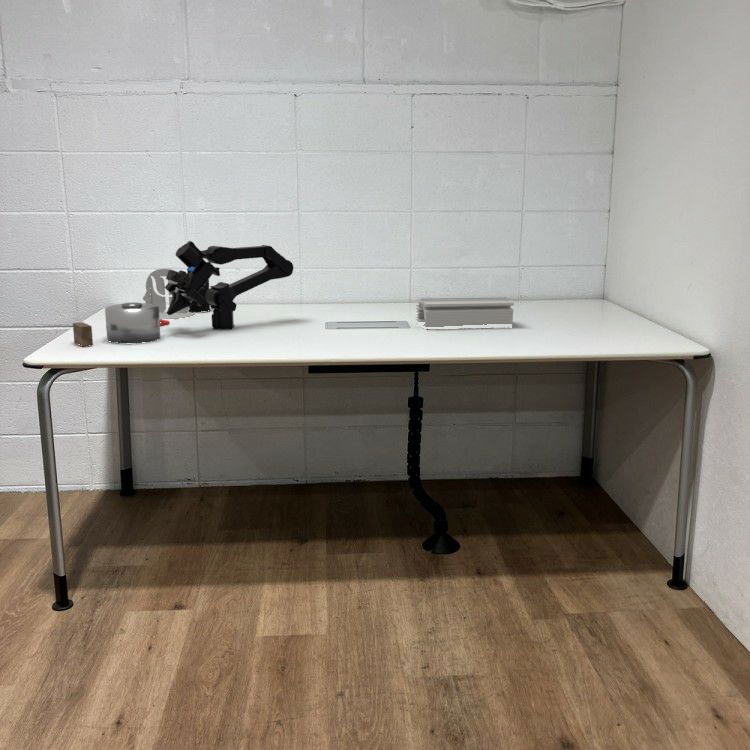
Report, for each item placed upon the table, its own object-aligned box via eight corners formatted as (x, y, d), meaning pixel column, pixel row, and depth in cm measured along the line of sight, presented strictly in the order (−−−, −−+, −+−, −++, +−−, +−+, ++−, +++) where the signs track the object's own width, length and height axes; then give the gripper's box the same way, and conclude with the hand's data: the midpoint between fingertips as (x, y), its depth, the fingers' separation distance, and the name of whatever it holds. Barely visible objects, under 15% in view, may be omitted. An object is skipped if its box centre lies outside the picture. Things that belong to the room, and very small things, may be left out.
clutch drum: (165, 333, 258) (163, 300, 255) (154, 344, 242) (152, 308, 240) (115, 333, 257) (112, 299, 254) (100, 344, 242) (98, 308, 239)
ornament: (196, 315, 293) (194, 269, 289) (182, 321, 280) (180, 273, 276) (140, 312, 296) (137, 267, 292) (123, 319, 284) (120, 271, 280)
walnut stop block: (84, 341, 244) (82, 322, 243) (93, 345, 238) (91, 326, 237) (74, 342, 243) (72, 323, 241) (82, 347, 236) (81, 327, 235)
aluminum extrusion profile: (415, 323, 282) (416, 295, 279) (498, 321, 287) (500, 294, 285) (425, 331, 268) (426, 301, 266) (512, 329, 273) (513, 300, 271)
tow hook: (150, 322, 279) (138, 326, 270) (149, 285, 276) (137, 288, 267) (173, 323, 278) (162, 327, 269) (172, 286, 275) (161, 289, 266)
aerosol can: (193, 308, 306) (190, 256, 301) (213, 309, 305) (211, 256, 300) (185, 312, 298) (182, 258, 293) (206, 313, 297) (204, 259, 292)
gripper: (169, 258, 261) (138, 294, 257) (193, 263, 247) (161, 301, 243) (192, 280, 268) (163, 316, 264) (217, 286, 253) (187, 324, 250)
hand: (168, 314), depth 255 cm, fingers closed
